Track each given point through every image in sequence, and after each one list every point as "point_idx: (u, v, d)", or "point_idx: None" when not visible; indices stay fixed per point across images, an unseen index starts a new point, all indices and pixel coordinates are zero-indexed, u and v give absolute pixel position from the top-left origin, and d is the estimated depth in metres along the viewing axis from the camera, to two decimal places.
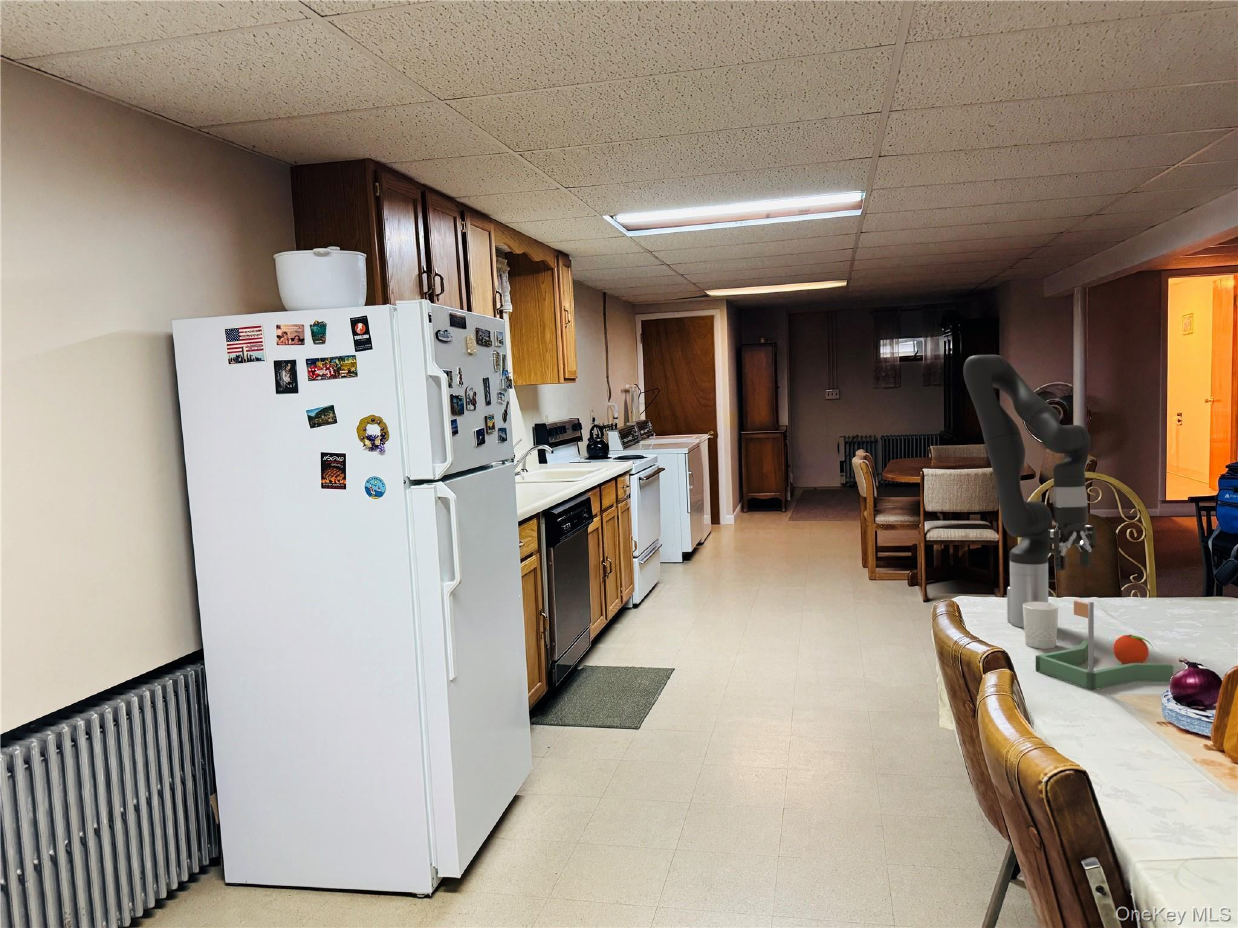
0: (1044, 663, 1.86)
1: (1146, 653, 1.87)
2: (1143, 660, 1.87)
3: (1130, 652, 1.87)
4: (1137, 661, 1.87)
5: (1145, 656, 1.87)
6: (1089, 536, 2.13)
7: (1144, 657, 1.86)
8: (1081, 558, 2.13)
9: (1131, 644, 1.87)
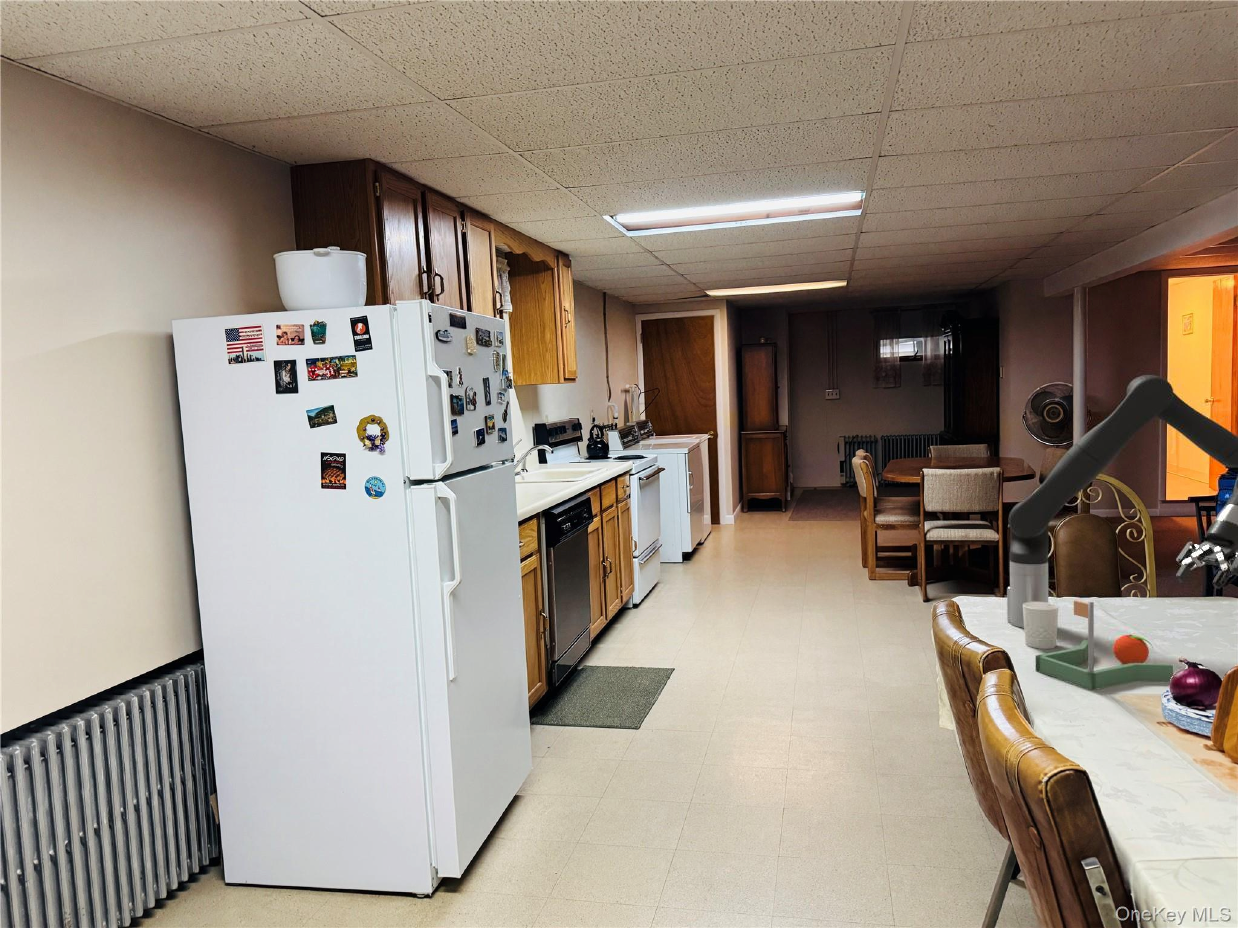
0: (1044, 663, 1.86)
1: (1146, 653, 1.87)
2: (1143, 660, 1.87)
3: (1130, 652, 1.87)
4: (1137, 661, 1.87)
5: (1145, 656, 1.87)
6: (1190, 555, 2.02)
7: (1144, 657, 1.86)
8: (1183, 571, 1.99)
9: (1131, 644, 1.87)
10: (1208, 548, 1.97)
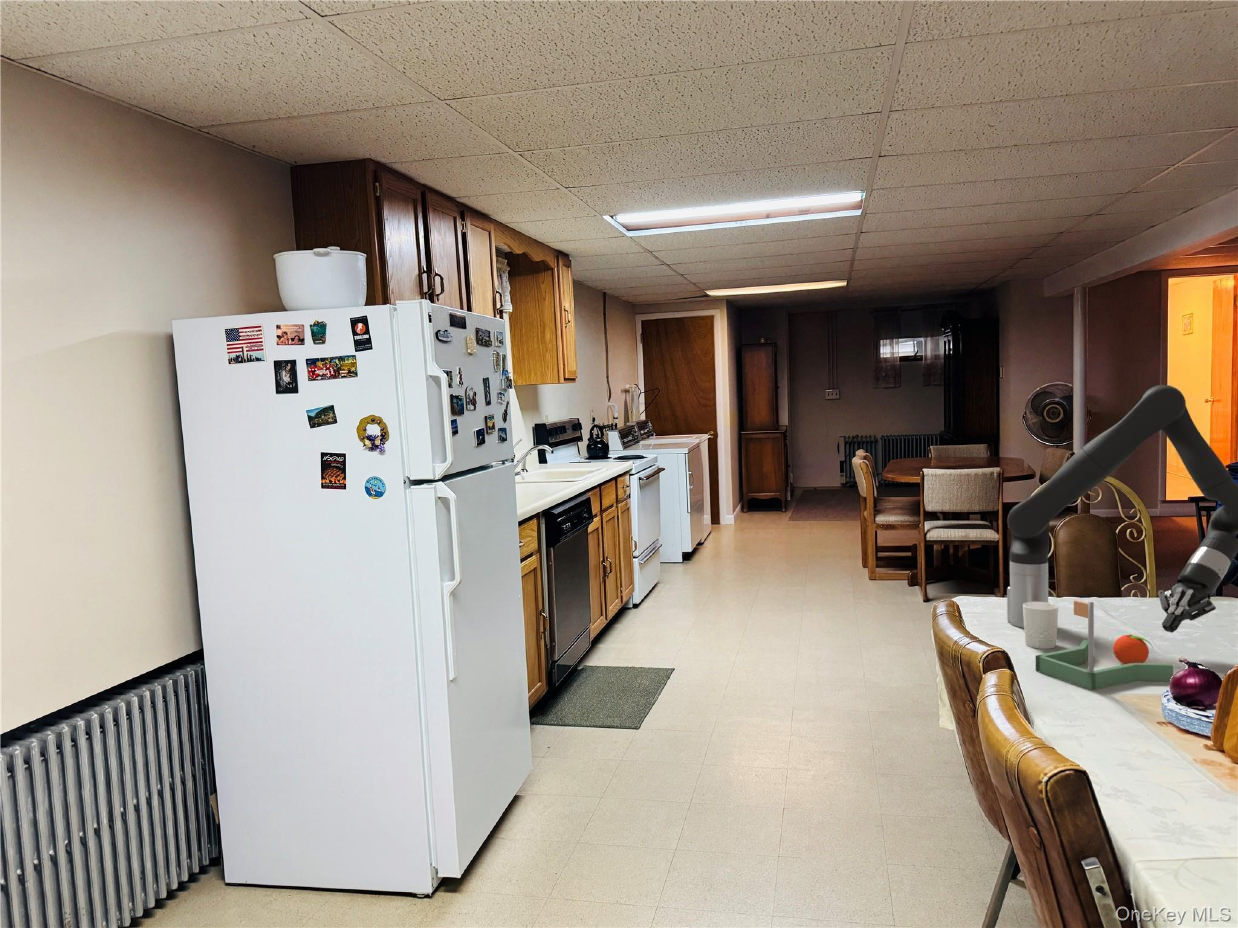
0: (1044, 663, 1.86)
1: (1146, 653, 1.87)
2: (1143, 660, 1.87)
3: (1130, 652, 1.87)
4: (1137, 661, 1.87)
5: (1145, 656, 1.87)
6: (1168, 602, 1.98)
7: (1144, 657, 1.86)
8: (1169, 620, 1.93)
9: (1131, 644, 1.87)
10: (1182, 589, 1.95)
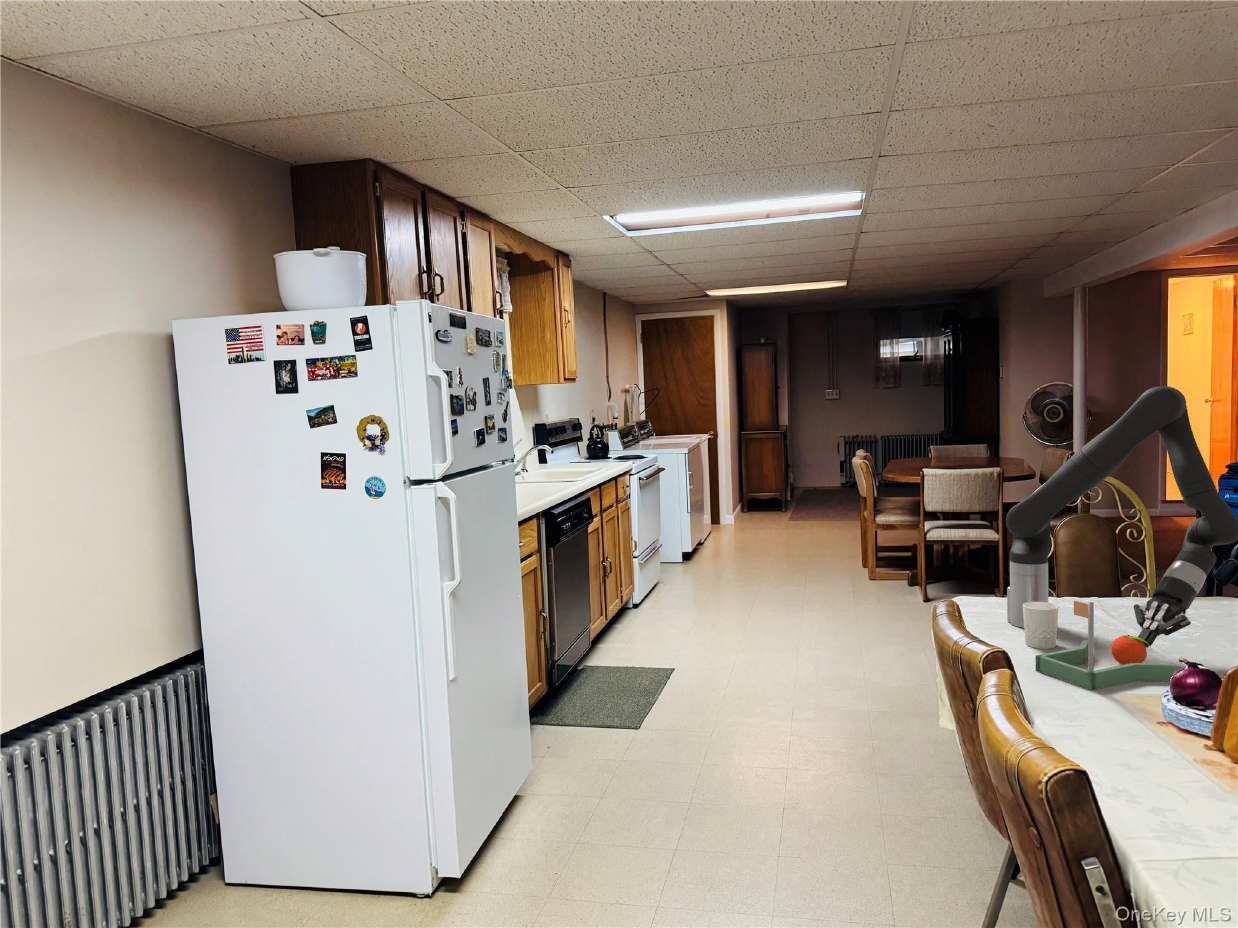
0: (1044, 663, 1.86)
1: (1144, 653, 1.86)
2: (1141, 660, 1.86)
3: (1128, 653, 1.86)
4: (1135, 662, 1.86)
5: (1143, 656, 1.86)
6: (1144, 616, 1.95)
7: (1142, 657, 1.86)
8: (1144, 635, 1.90)
9: (1129, 644, 1.87)
10: (1157, 603, 1.92)
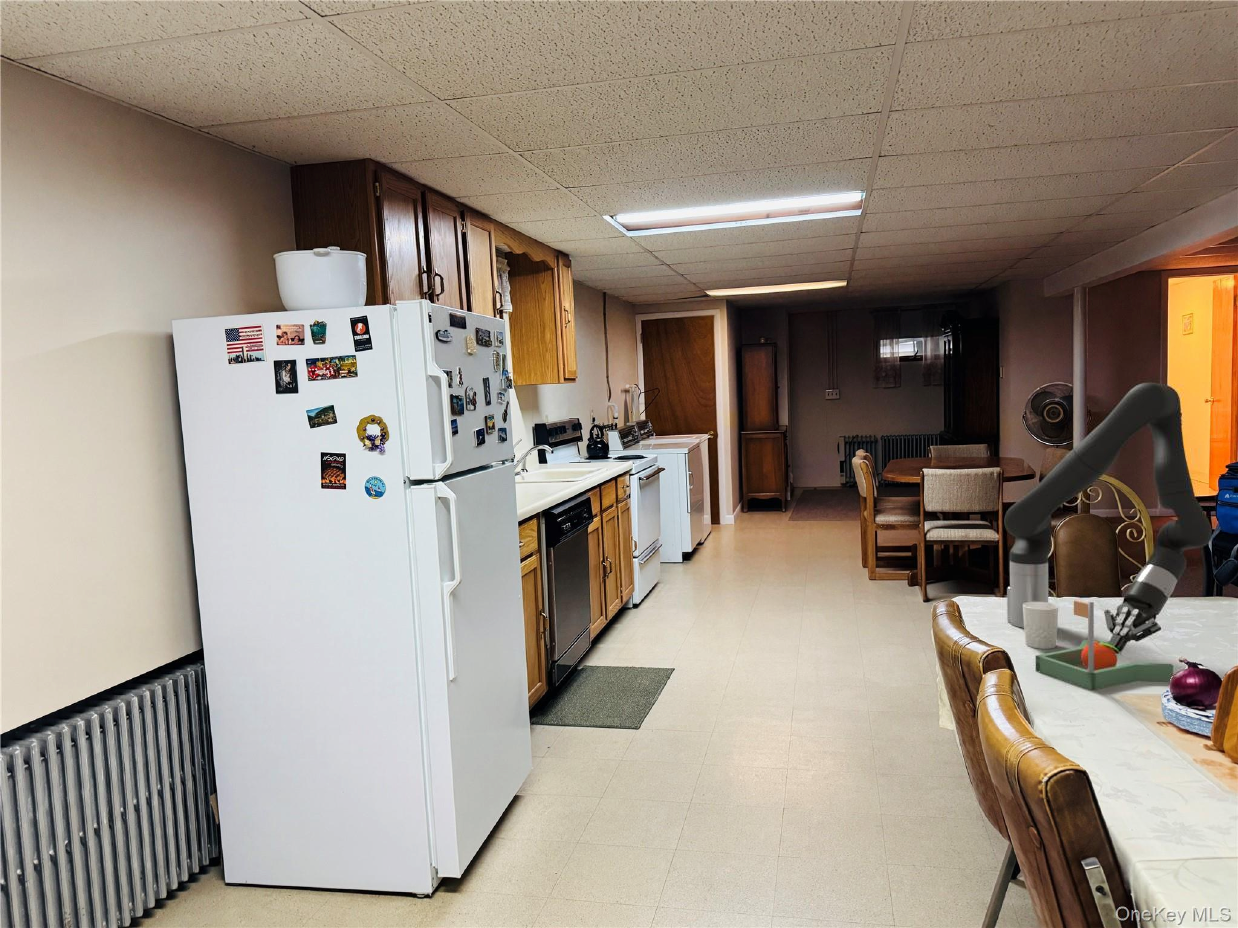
0: (1044, 663, 1.86)
1: (1114, 661, 1.82)
2: None
3: (1097, 660, 1.82)
4: None
5: (1113, 664, 1.82)
6: (1114, 622, 1.91)
7: (1112, 665, 1.82)
8: (1114, 642, 1.86)
9: (1099, 651, 1.83)
10: (1127, 609, 1.88)
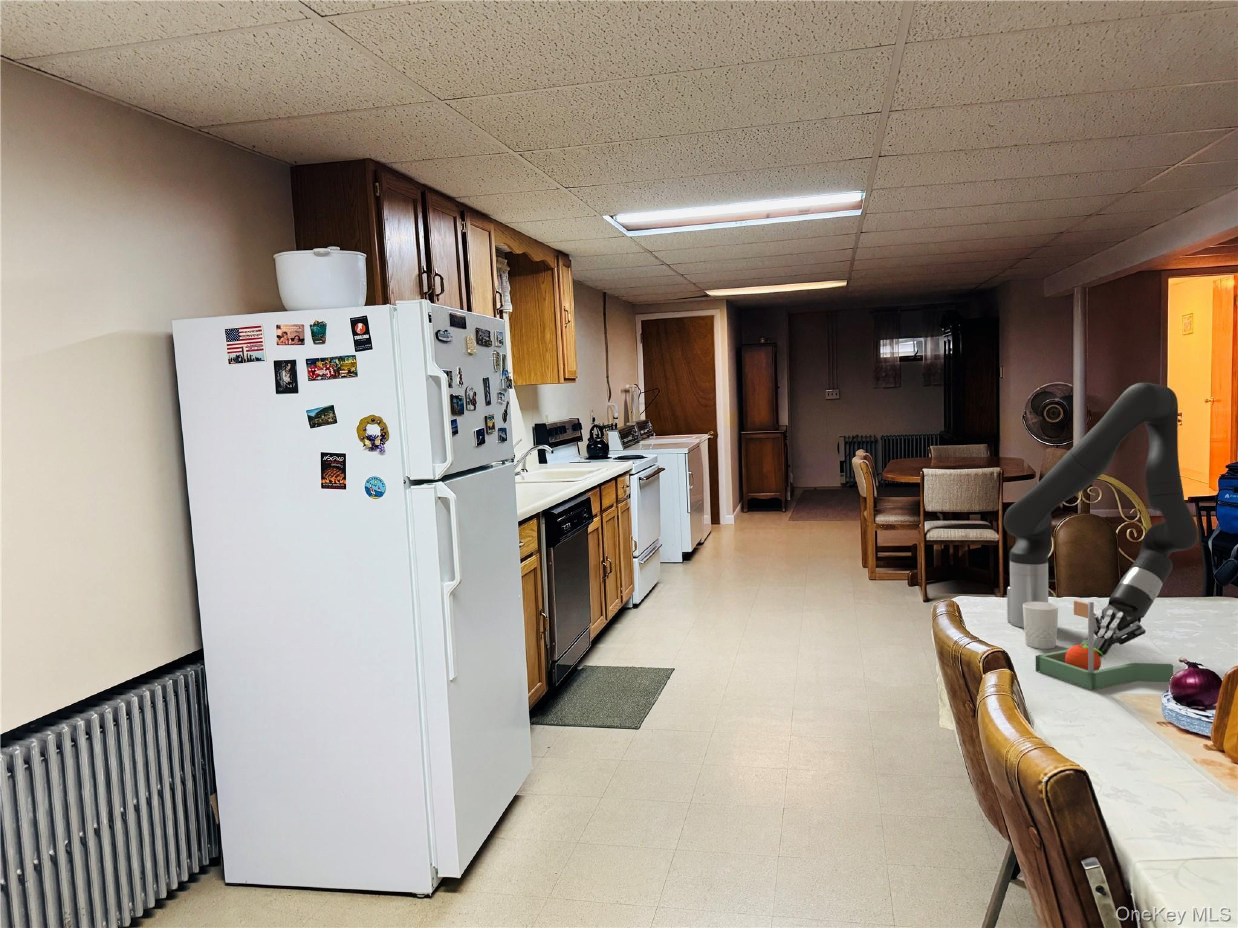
0: (1044, 663, 1.86)
1: (1098, 664, 1.81)
2: None
3: (1081, 663, 1.81)
4: None
5: (1096, 667, 1.81)
6: (1099, 624, 1.90)
7: (1095, 668, 1.81)
8: (1098, 644, 1.85)
9: (1082, 654, 1.81)
10: (1112, 612, 1.87)
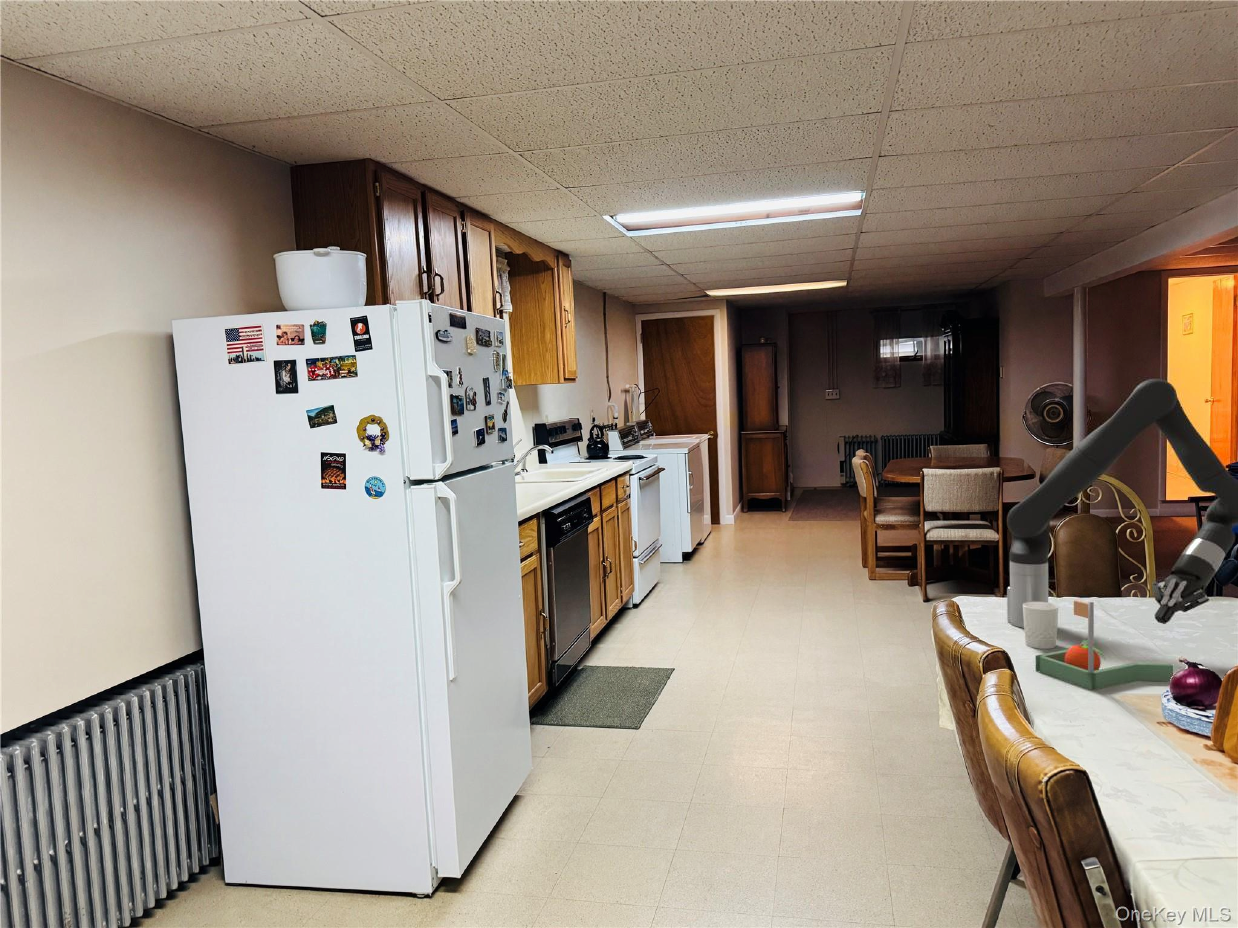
0: (1044, 663, 1.86)
1: (1097, 664, 1.81)
2: None
3: (1081, 663, 1.81)
4: None
5: (1096, 667, 1.81)
6: (1162, 593, 1.97)
7: (1095, 668, 1.81)
8: (1162, 612, 1.92)
9: (1082, 654, 1.81)
10: (1175, 581, 1.94)
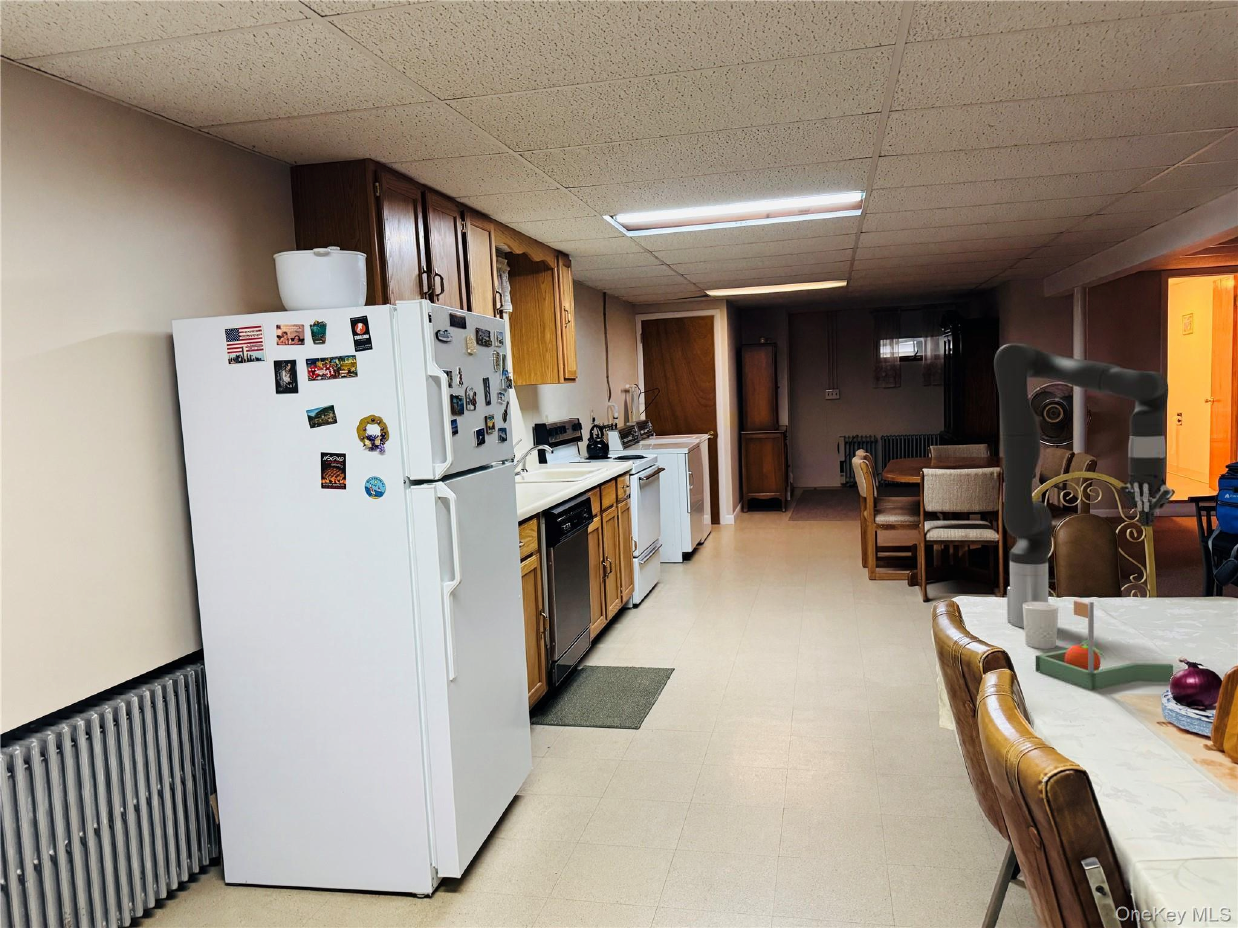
0: (1044, 663, 1.86)
1: (1097, 664, 1.81)
2: None
3: (1081, 663, 1.81)
4: None
5: (1096, 667, 1.81)
6: (1133, 494, 2.06)
7: (1095, 668, 1.81)
8: (1143, 518, 2.02)
9: (1082, 654, 1.81)
10: (1138, 484, 2.02)
